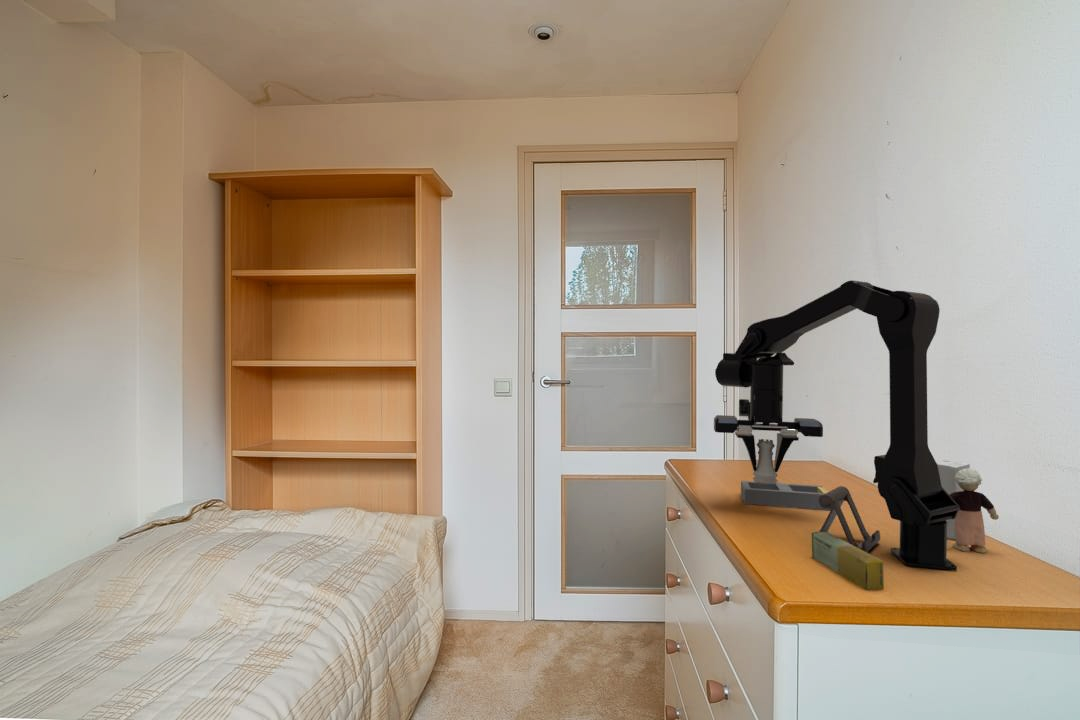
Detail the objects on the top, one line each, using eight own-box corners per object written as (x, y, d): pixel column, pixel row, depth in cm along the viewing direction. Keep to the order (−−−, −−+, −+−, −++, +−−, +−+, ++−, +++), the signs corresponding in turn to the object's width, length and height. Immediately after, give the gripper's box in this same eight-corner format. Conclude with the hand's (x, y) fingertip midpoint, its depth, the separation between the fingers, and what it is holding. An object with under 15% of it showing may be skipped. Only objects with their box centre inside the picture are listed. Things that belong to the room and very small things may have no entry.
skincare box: (955, 541, 92) (957, 467, 92) (925, 533, 95) (926, 462, 95) (971, 534, 95) (972, 463, 95) (941, 527, 99) (942, 459, 99)
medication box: (810, 558, 84) (810, 531, 84) (827, 557, 84) (827, 530, 84) (866, 592, 72) (866, 561, 72) (885, 591, 72) (885, 560, 72)
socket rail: (831, 510, 109) (832, 495, 109) (744, 504, 113) (745, 489, 113) (821, 500, 117) (822, 485, 117) (740, 494, 121) (740, 480, 121)
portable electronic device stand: (865, 558, 83) (866, 502, 83) (809, 545, 89) (810, 492, 89) (880, 544, 90) (881, 492, 90) (827, 533, 95) (828, 484, 95)
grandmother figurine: (984, 546, 89) (985, 466, 89) (1001, 554, 86) (1003, 471, 85) (932, 543, 90) (934, 465, 90) (947, 552, 86) (949, 470, 86)
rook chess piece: (781, 485, 104) (782, 442, 104) (757, 484, 104) (758, 441, 104) (772, 479, 109) (772, 438, 108) (749, 479, 109) (749, 438, 109)
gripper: (810, 388, 112) (809, 466, 112) (712, 385, 116) (711, 460, 116) (824, 391, 101) (822, 477, 101) (716, 388, 106) (714, 471, 106)
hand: (765, 471), depth 106 cm, fingers closed on rook chess piece, 3 cm apart
